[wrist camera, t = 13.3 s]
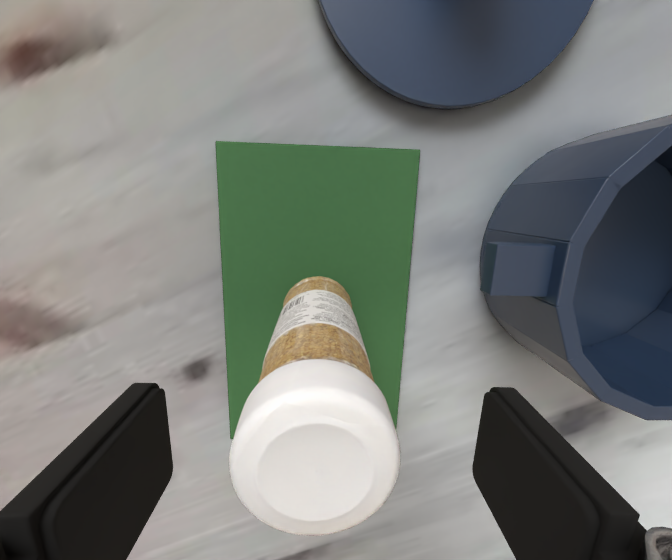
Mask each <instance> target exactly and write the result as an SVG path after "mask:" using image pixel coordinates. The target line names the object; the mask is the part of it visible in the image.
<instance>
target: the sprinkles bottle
mask: <svg viewBox="0 0 672 560" xmlns="http://www.w3.org/2000/svg"><path fill="white" fill-rule="evenodd" d="M400 460H401V452H400V445H399V441H398V437H397V433H396V429H395V426H394V423H393V420H392V417H391V414H390V411H389V408H388V405H387V402H386V399H385V397H384V395H383V394H382V392H381V390H380V389H379V388H378V386H377V385H376V384H375V383H374V380H373V376H372V373H371V370H370V363H369V359H368V356H367V353H366V349H365V346H364V343H363V340H362V336H361V333H360V330H359V327H358V324H357V321H356V318H355V315H354V312H353V310H352V304H351V300H350V296H349V294H348V293H347V292H346V290H345V289H344V287H343V286H341V285H340V284H339V283H338V282H336V281H334V280H332V279H330V278H326V277H321V276H317V277H309V278H306V279H303V280H301V281H300V282H298V283H296V284H295V285H294V286H293V287H292V288H291V289H290V290H289V292H288V293H287V295H286V297H285V300H284V303H283V309H282V311H281V313H280V316H279V318H278V321H277V324H276V327H275V329H274V332H273V335H272V337H271V340H270V343H269V346H268V349H267V352H266V355H265V358H264V362H263V368H262V372H261V375H260V379H259V382H258V384H257V385H256V387H255V388H254V389H253V391H252V392H251V393H250V395H249V397H248V398H247V400H246V402H245V405H244V407H243V410H242V413H241V415H240V418H239V422H238V425H237V428H236V431H235V435H234V438H233V441H232V444H231V449H230V454H229V470H230V477H231V481H232V484H233V487H234V490H235V492H236V494H237V496H238V497H239V499H240V501H241V502H242V503H243V505H244V506H245V507H246V508H247V509H248V510H249V511H250V512H251V513H252V514H253V515H254V516H255V517H257V518H258V519H259V520H261V521H262V522H264V523H265V524H267V525H269V526H271V527H273V528H275V529H278V530H281V531H284V532H288V533H291V534H297V535H306V536H315V535H326V534H332V533H336V532H339V531H343V530H346V529H348V528H351V527H353V526H355V525H357V524H359V523H361V522H363V521H364V520H366V519H367V518H369V517H370V516H371V515H372V514H373V513H375V512H376V511H377V510H378V509H379V508H380V507H381V506H382V505H383V504H384V503H385V501H386V500H387V499H388V497H389V495H390V494H391V492H392V490H393V488H394V486H395V484H396V481H397V478H398V474H399V470H400Z"/></svg>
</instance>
